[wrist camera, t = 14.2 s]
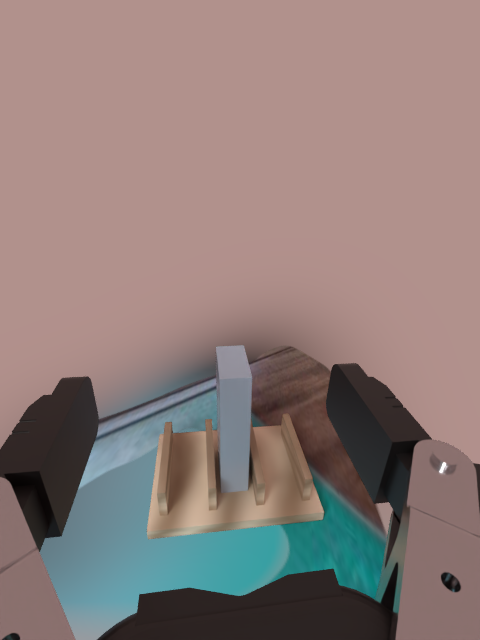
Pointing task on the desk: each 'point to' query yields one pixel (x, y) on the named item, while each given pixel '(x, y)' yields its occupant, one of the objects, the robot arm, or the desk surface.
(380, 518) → the desk surface
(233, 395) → the grey tall block
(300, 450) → the rack
